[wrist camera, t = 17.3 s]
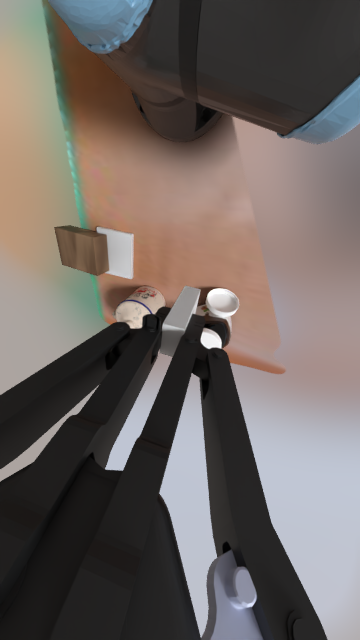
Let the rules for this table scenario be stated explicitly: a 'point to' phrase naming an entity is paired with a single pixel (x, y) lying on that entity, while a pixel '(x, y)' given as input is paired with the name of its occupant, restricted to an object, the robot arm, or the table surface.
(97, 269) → the walnut slab
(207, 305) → the spread jar
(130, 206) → the table surface
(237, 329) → the table surface
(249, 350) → the table surface
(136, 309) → the teacup with lid
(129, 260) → the grey board
